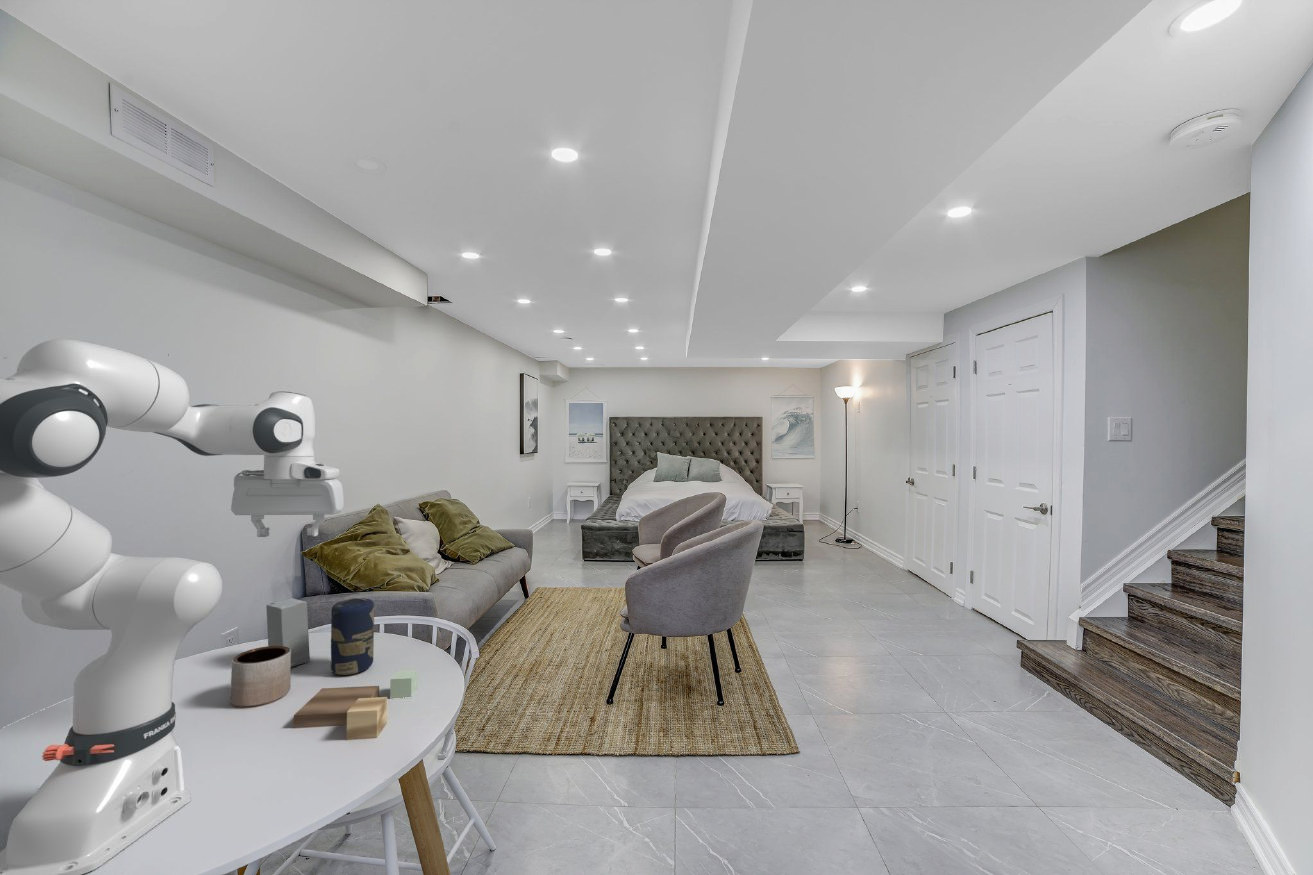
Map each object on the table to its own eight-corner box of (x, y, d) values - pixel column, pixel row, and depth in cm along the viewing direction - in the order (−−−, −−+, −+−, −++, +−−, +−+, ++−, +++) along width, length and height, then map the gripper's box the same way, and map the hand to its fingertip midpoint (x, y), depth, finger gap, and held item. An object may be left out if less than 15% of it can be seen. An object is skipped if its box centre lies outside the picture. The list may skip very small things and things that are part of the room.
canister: (370, 674, 133) (372, 601, 133) (326, 680, 129) (328, 605, 129) (375, 659, 142) (376, 591, 142) (334, 664, 138) (335, 594, 138)
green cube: (411, 698, 121) (411, 678, 121) (390, 699, 120) (390, 679, 120) (417, 689, 126) (417, 669, 126) (396, 690, 125) (397, 670, 125)
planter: (301, 687, 125) (302, 646, 126) (263, 710, 115) (264, 665, 115) (259, 684, 127) (260, 643, 127) (216, 707, 116) (218, 662, 116)
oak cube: (376, 738, 105) (377, 710, 105) (346, 740, 104) (347, 711, 104) (386, 723, 110) (387, 696, 110) (358, 725, 109) (358, 698, 109)
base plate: (357, 724, 109) (357, 712, 109) (293, 727, 108) (293, 715, 108) (379, 696, 121) (379, 685, 121) (321, 699, 120) (322, 688, 120)
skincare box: (310, 662, 140) (311, 601, 140) (279, 671, 134) (280, 608, 134) (294, 655, 144) (295, 595, 144) (264, 664, 138) (265, 602, 138)
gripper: (224, 470, 108) (222, 539, 108) (335, 471, 111) (333, 538, 111) (243, 469, 114) (242, 534, 114) (347, 469, 117) (346, 533, 117)
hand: (287, 536), depth 112 cm, fingers open, 8 cm apart
